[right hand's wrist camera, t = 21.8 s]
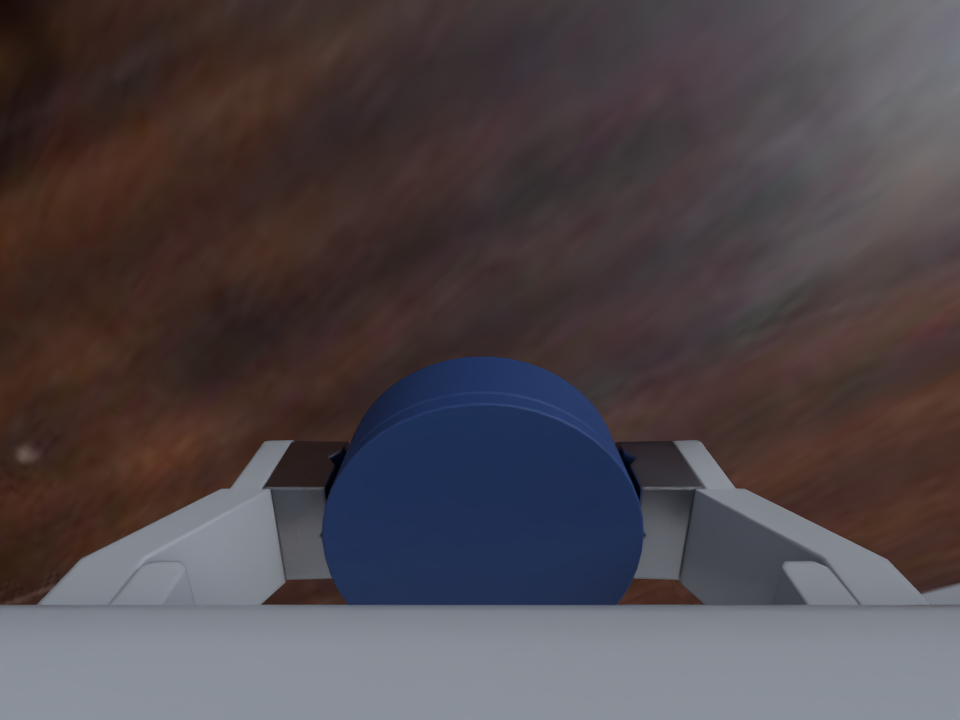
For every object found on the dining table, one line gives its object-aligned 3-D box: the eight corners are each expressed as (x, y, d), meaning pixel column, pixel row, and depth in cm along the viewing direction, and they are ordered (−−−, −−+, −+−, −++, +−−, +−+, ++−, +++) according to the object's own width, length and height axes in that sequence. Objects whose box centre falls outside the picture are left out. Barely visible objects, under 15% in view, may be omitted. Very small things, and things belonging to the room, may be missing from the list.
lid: (390, 601, 11) (374, 684, 10) (311, 386, 9) (274, 441, 8) (631, 560, 11) (659, 638, 9) (596, 327, 9) (623, 371, 7)
